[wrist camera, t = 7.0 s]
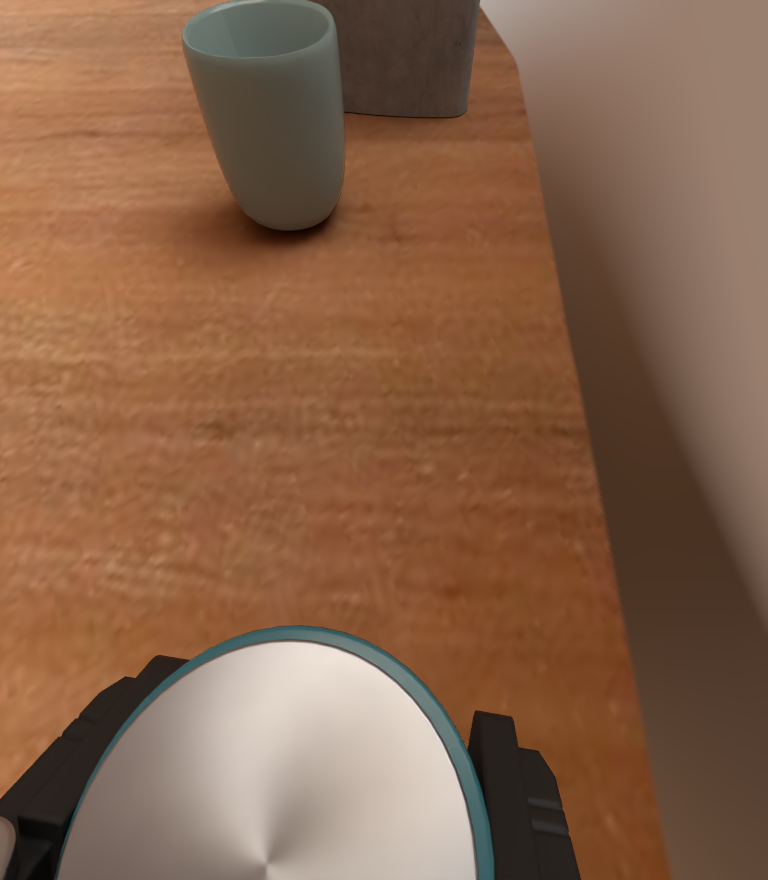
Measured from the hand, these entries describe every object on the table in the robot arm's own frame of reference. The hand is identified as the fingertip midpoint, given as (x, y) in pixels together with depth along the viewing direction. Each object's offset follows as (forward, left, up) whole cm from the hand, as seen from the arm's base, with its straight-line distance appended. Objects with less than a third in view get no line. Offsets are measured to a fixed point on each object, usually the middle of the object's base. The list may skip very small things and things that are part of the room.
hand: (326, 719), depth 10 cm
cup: (-6, -30, -8) cm, 31 cm away
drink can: (+1, +1, -8) cm, 8 cm away
